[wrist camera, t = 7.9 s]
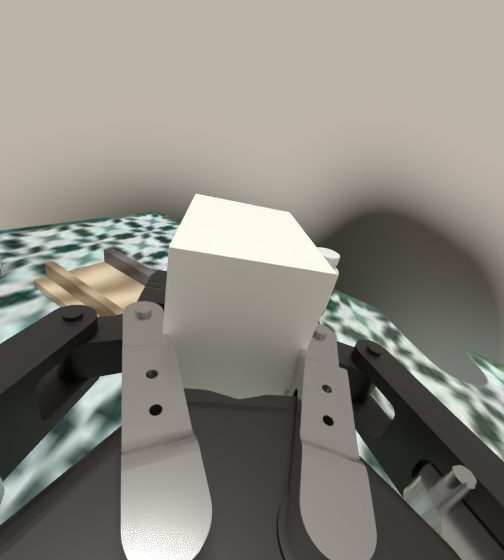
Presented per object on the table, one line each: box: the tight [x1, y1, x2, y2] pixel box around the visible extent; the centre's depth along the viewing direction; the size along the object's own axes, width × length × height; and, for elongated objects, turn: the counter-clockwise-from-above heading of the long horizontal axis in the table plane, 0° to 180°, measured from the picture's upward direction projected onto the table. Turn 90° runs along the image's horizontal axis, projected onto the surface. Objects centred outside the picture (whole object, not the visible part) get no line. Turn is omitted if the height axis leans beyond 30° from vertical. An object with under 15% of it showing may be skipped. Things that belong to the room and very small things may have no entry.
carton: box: [163, 194, 337, 399], centre depth 12 cm, size 4×6×10 cm
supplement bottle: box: [317, 248, 340, 313], centre depth 43 cm, size 5×5×10 cm
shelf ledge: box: [34, 248, 155, 317], centre depth 34 cm, size 26×12×3 cm, turn 58°
